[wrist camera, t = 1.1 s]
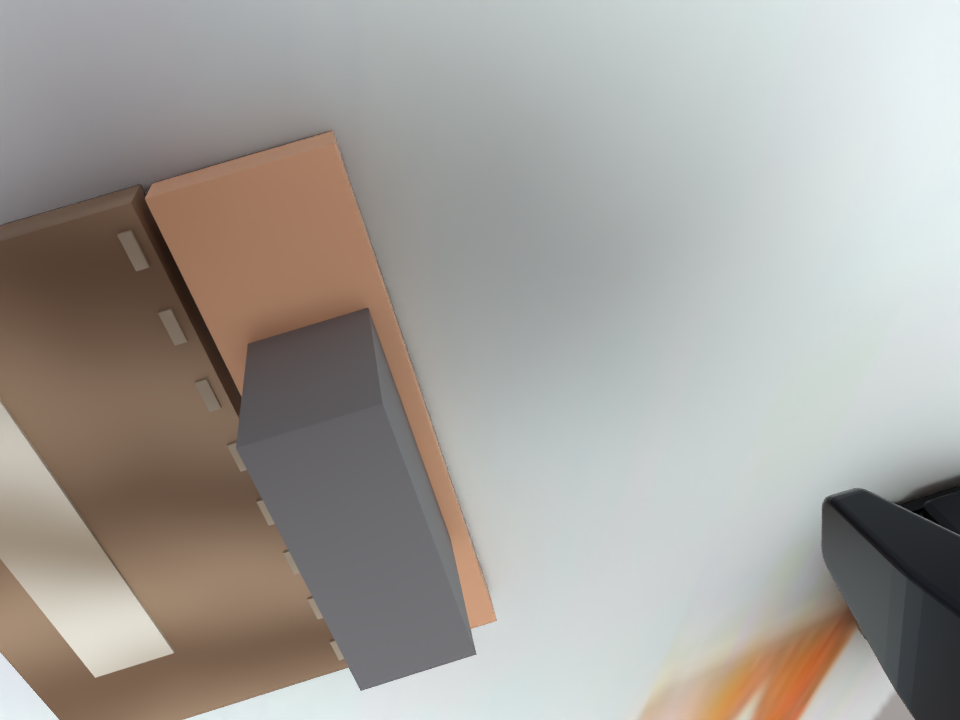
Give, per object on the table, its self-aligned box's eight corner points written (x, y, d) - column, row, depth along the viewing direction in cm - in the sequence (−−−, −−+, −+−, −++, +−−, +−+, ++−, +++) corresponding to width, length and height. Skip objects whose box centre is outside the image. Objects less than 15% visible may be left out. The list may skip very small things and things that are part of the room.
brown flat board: (358, 633, 27) (361, 665, 26) (94, 716, 27) (85, 752, 26) (140, 184, 18) (129, 204, 17) (-253, 299, 18) (-289, 327, 17)
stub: (490, 597, 27) (526, 738, 23) (368, 635, 27) (381, 785, 23) (332, 130, 18) (342, 212, 14) (151, 183, 18) (104, 282, 14)
